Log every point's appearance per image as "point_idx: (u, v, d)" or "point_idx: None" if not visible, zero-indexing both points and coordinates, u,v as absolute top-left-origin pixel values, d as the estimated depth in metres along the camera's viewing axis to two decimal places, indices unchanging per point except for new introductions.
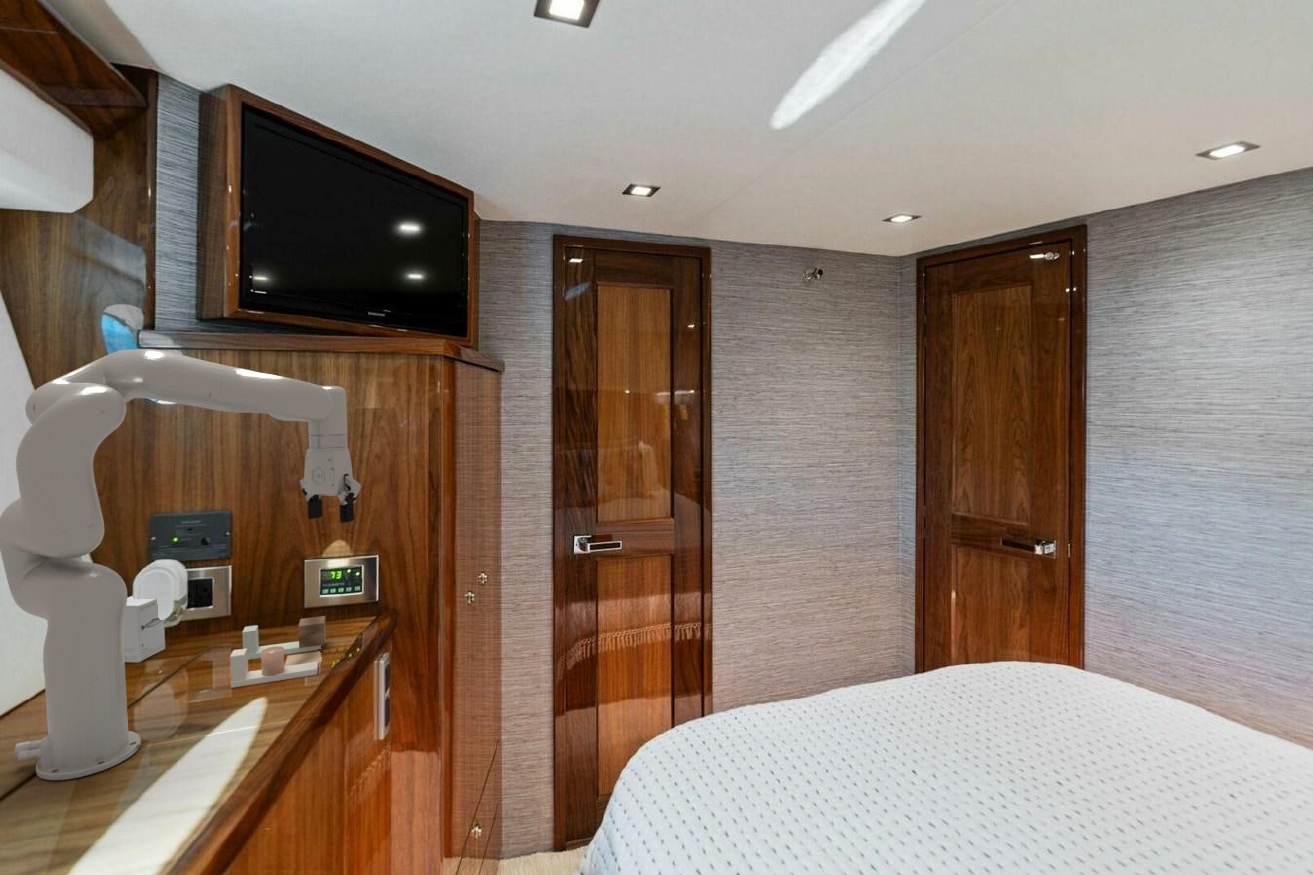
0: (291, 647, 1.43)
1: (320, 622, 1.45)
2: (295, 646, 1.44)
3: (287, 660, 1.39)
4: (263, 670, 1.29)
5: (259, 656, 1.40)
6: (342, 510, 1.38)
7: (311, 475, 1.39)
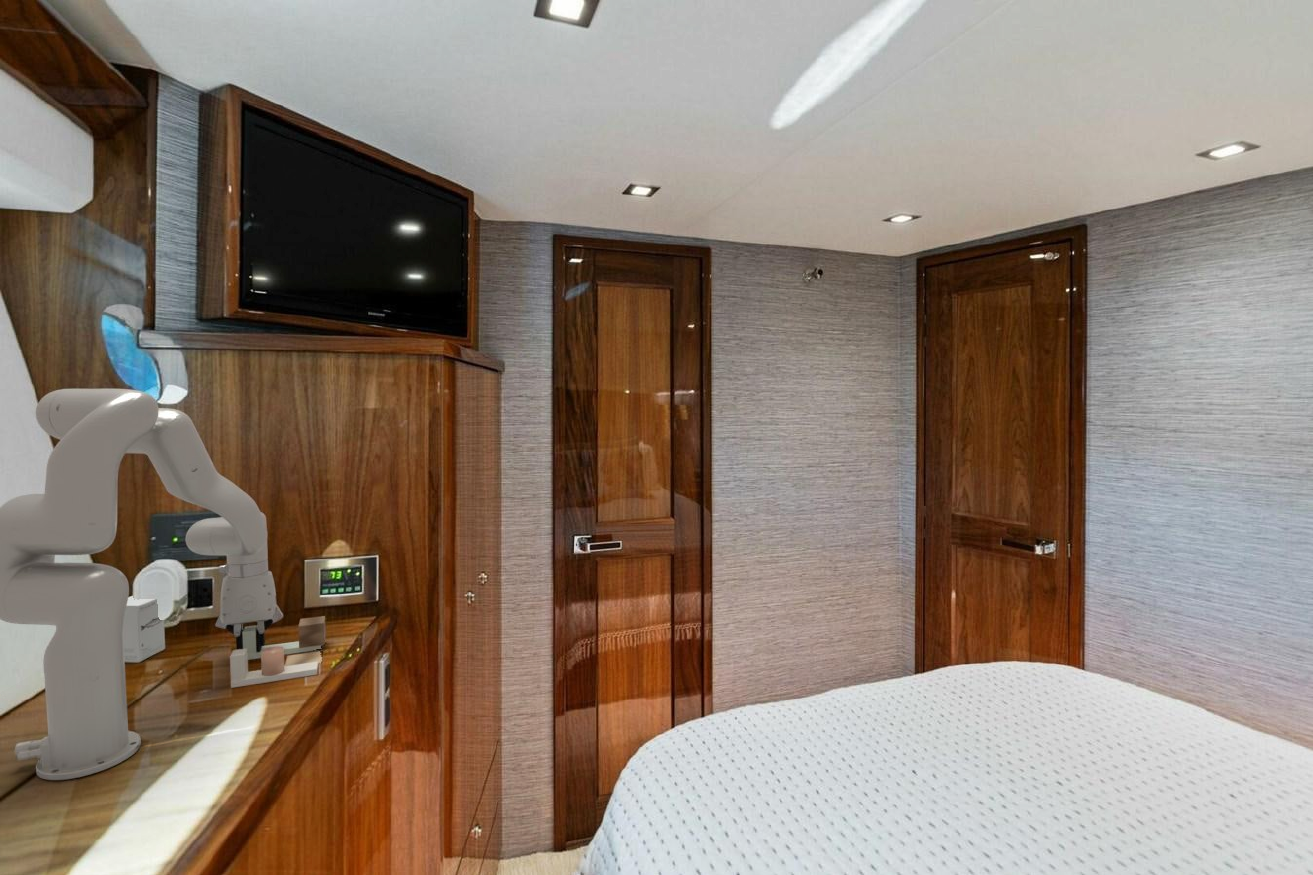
0: (291, 647, 1.43)
1: (320, 622, 1.45)
2: (295, 646, 1.44)
3: (287, 660, 1.39)
4: (263, 670, 1.29)
5: (259, 656, 1.40)
6: (259, 639, 1.40)
7: (235, 605, 1.37)
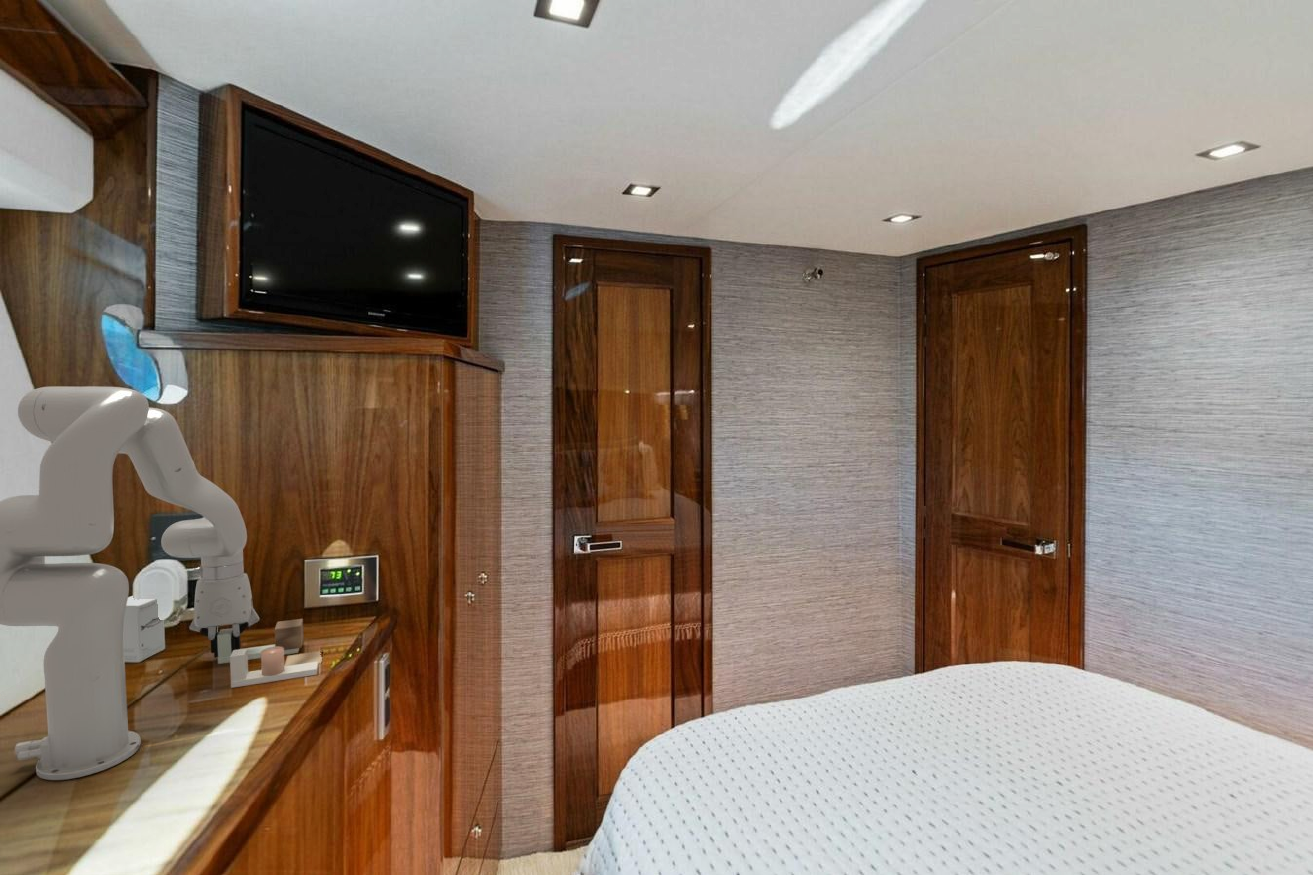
0: None
1: (297, 625, 1.43)
2: None
3: (287, 660, 1.39)
4: (263, 670, 1.29)
5: None
6: (234, 642, 1.38)
7: (209, 608, 1.35)
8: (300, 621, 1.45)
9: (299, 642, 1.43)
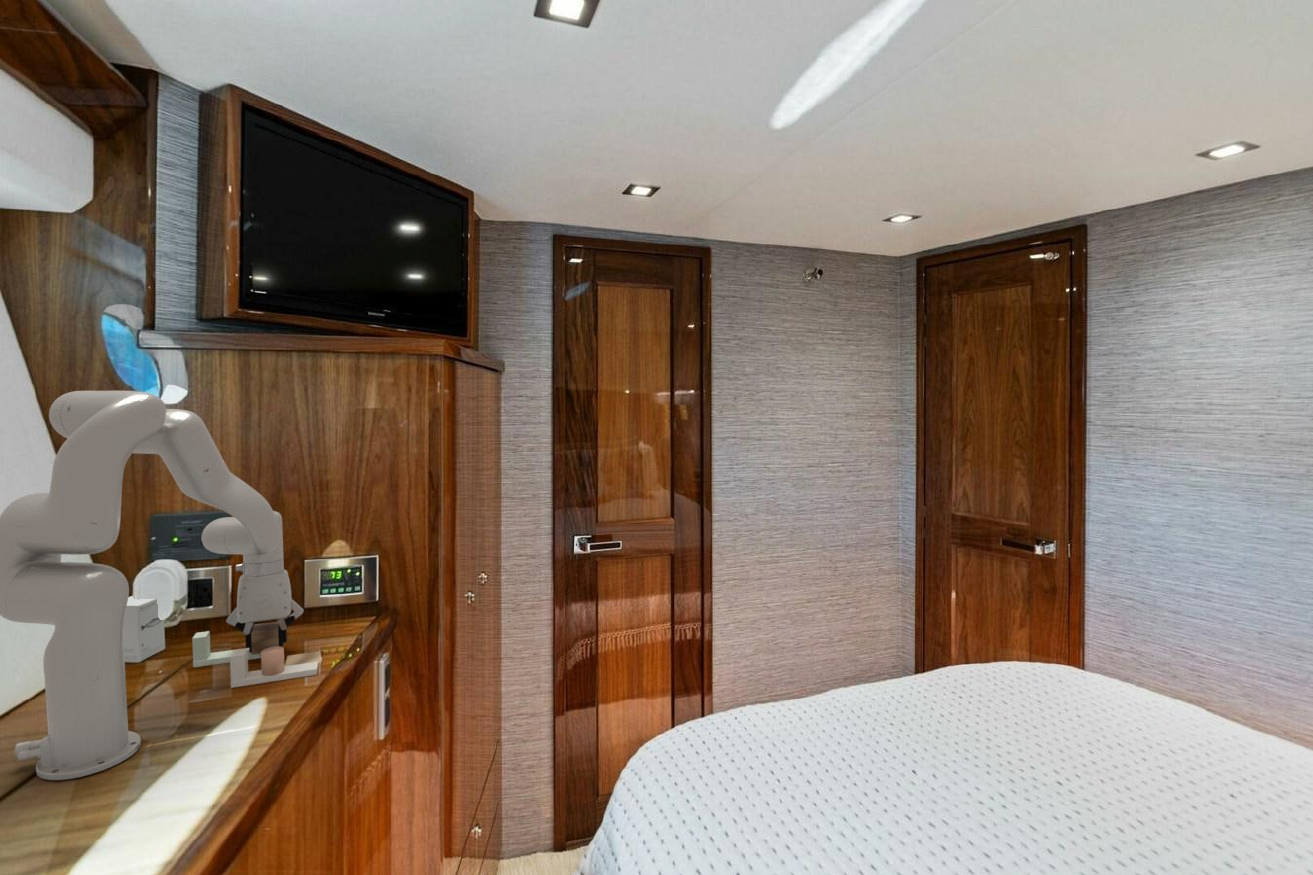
0: None
1: (274, 628, 1.41)
2: (248, 652, 1.40)
3: (287, 660, 1.39)
4: (263, 670, 1.29)
5: (210, 663, 1.36)
6: (282, 635, 1.42)
7: (251, 603, 1.38)
8: (278, 624, 1.43)
9: (276, 645, 1.41)
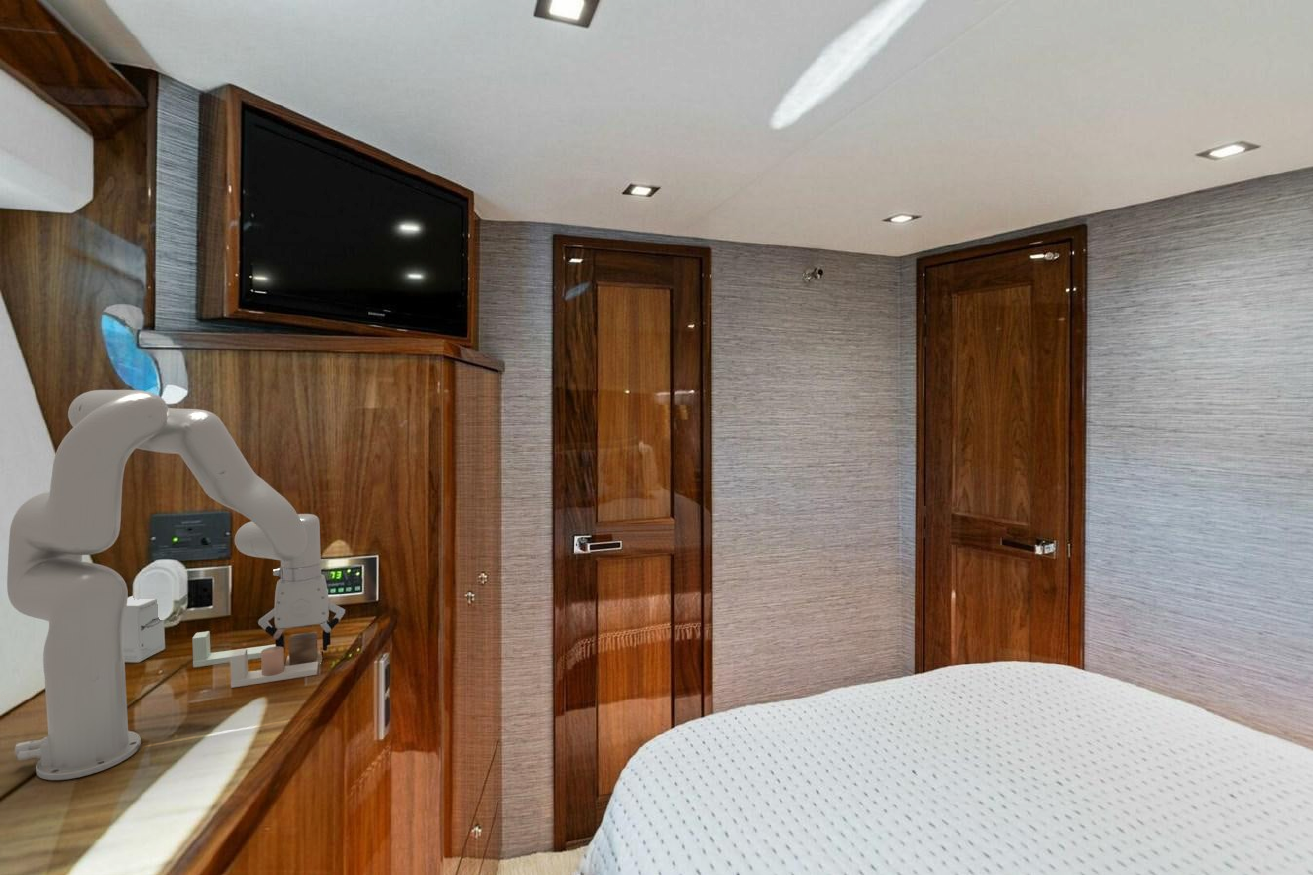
0: None
1: (311, 638, 1.38)
2: (248, 652, 1.40)
3: (287, 660, 1.39)
4: (263, 670, 1.29)
5: (210, 663, 1.36)
6: (326, 638, 1.40)
7: (289, 609, 1.35)
8: (314, 634, 1.40)
9: (314, 656, 1.38)
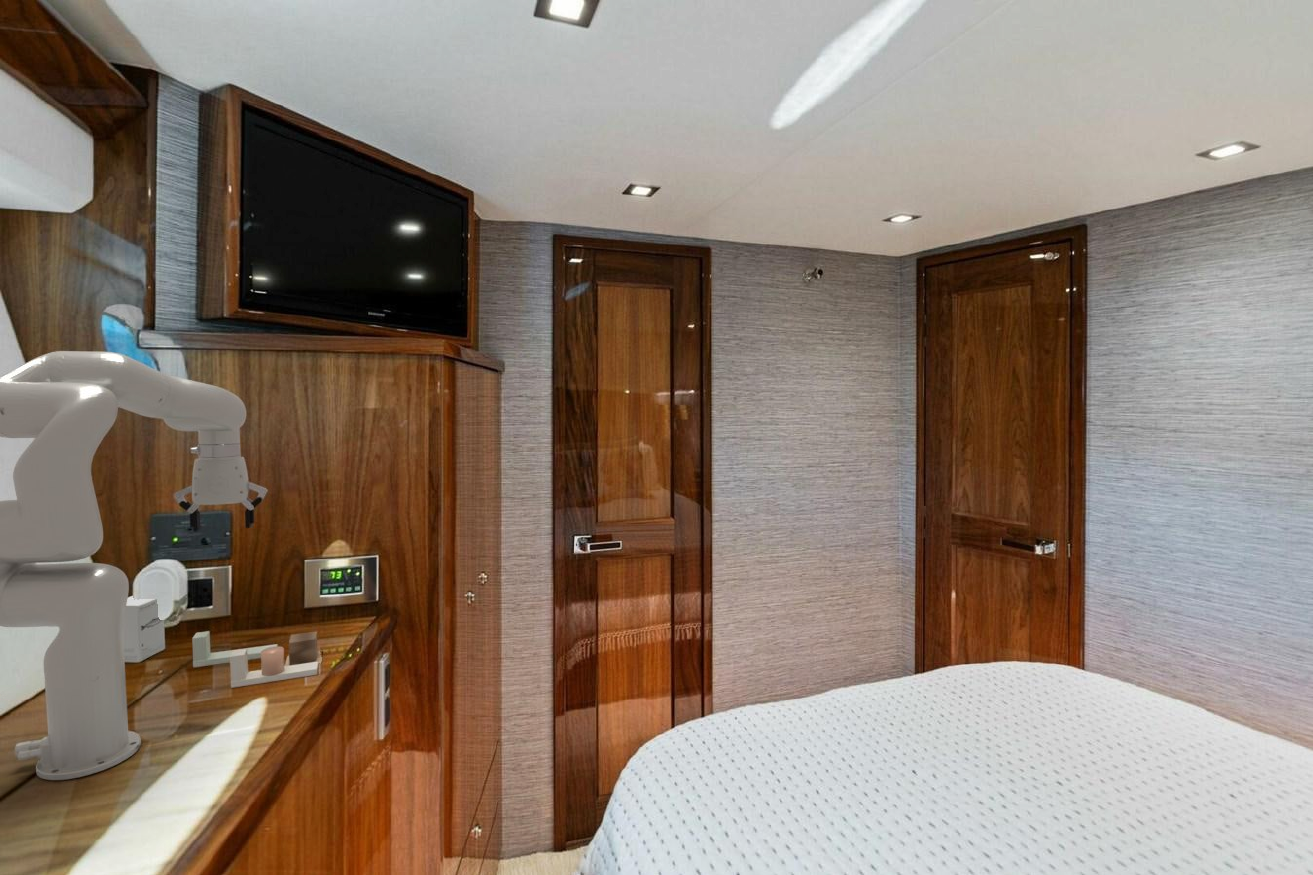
0: None
1: (311, 638, 1.38)
2: (248, 652, 1.40)
3: (287, 660, 1.39)
4: (263, 670, 1.29)
5: (210, 663, 1.36)
6: (249, 515, 1.43)
7: (207, 485, 1.38)
8: (314, 634, 1.40)
9: (314, 656, 1.38)
